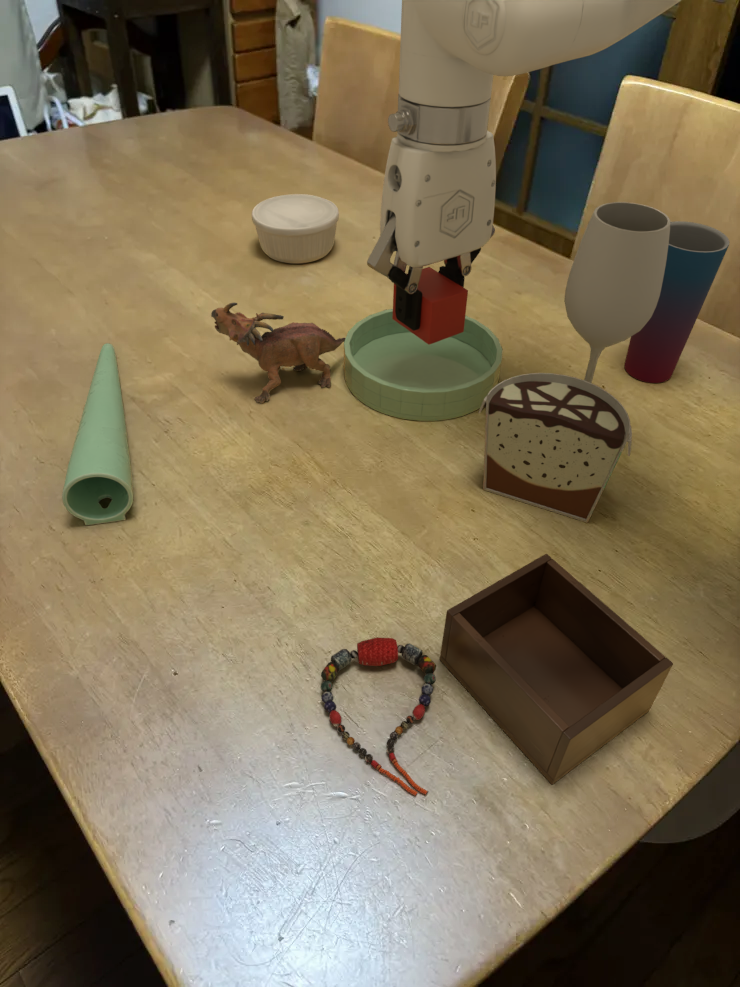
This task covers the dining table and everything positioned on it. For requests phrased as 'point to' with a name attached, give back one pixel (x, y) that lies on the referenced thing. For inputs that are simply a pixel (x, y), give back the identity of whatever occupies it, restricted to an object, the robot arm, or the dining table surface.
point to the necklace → (377, 655)
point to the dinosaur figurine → (278, 344)
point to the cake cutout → (552, 441)
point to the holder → (551, 664)
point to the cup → (677, 300)
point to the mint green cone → (100, 450)
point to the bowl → (420, 369)
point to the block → (438, 307)
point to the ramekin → (296, 227)
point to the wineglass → (617, 275)
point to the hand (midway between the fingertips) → (428, 315)
